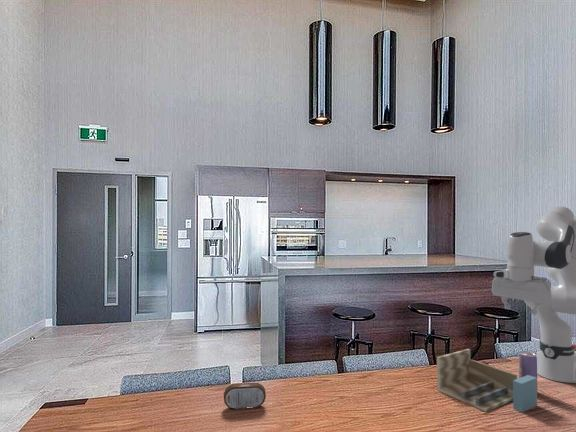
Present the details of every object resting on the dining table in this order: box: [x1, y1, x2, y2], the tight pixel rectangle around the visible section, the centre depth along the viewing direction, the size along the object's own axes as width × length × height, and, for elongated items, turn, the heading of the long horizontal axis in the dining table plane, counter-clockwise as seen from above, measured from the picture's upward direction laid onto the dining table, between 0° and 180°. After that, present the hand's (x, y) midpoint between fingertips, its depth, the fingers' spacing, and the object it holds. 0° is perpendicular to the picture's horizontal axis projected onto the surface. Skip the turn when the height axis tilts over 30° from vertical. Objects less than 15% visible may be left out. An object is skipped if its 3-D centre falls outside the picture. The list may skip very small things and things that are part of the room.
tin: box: [223, 382, 267, 409], centre depth 132 cm, size 15×3×8 cm, turn 98°
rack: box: [436, 348, 518, 413], centre depth 143 cm, size 20×20×13 cm
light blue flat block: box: [512, 375, 538, 413], centre depth 133 cm, size 10×3×10 cm, turn 120°
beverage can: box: [518, 350, 538, 379], centre depth 146 cm, size 6×6×15 cm
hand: (520, 311), depth 140 cm, fingers open, 8 cm apart
